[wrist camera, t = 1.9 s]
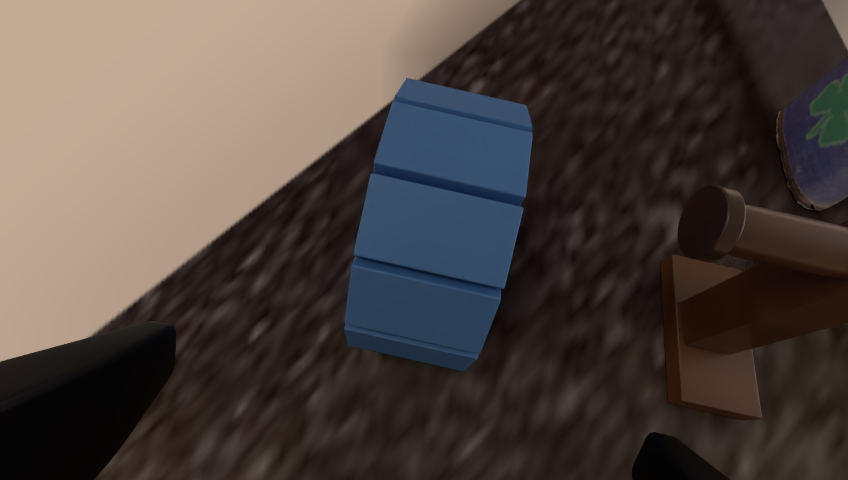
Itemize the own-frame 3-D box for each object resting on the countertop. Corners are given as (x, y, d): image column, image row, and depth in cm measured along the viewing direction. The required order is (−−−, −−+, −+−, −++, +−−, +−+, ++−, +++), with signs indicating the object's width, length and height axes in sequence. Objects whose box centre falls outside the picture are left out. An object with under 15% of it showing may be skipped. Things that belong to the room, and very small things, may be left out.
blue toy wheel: (448, 385, 21) (512, 329, 12) (352, 364, 21) (333, 289, 11) (479, 198, 26) (542, 46, 16) (401, 181, 26) (417, 18, 16)
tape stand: (744, 420, 22) (1056, 394, 12) (574, 382, 22) (745, 324, 12) (725, 276, 26) (954, 162, 16) (580, 243, 26) (715, 107, 16)
